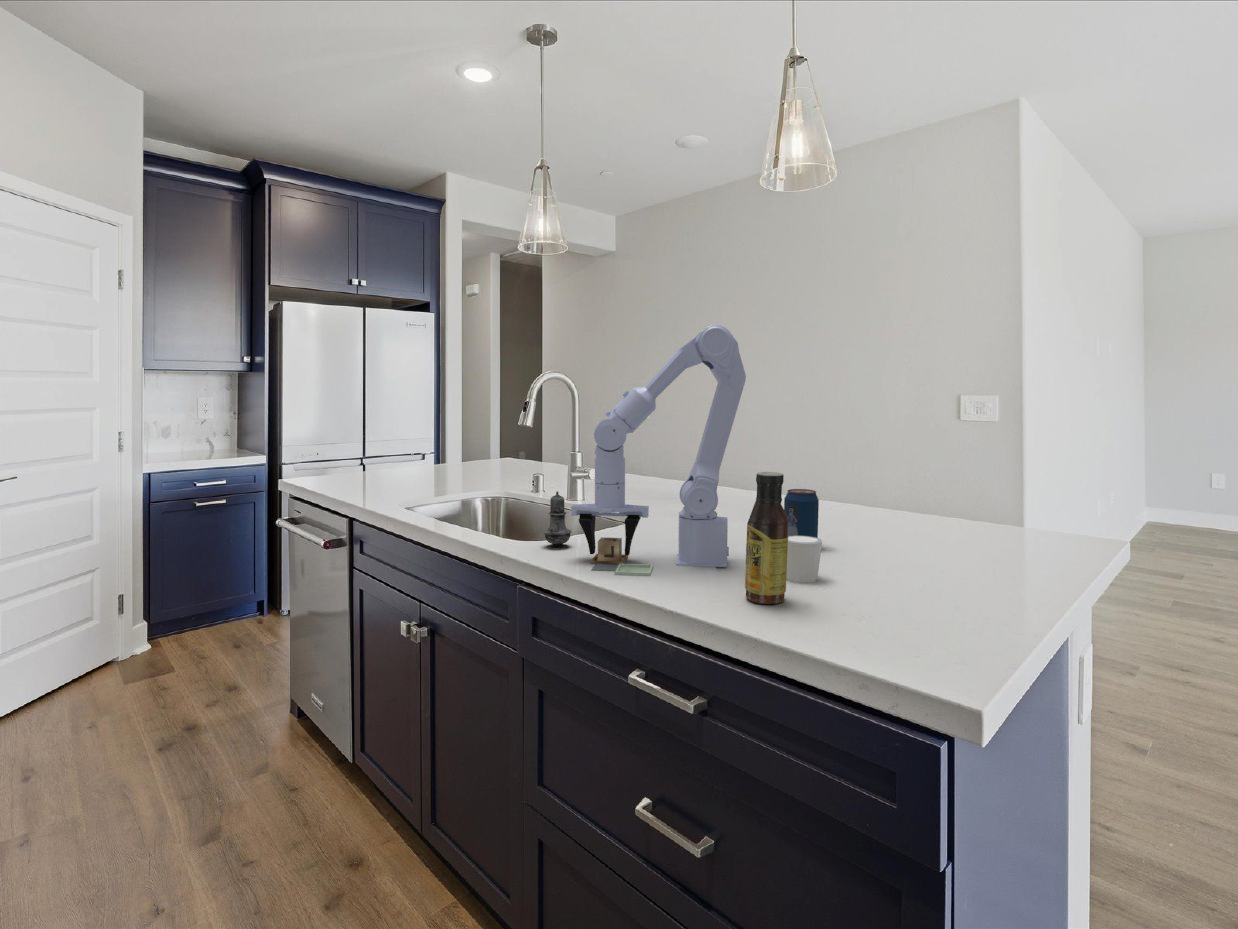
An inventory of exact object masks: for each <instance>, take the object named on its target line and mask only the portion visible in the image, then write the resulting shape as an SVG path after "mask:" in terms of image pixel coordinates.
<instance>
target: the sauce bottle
mask: <svg viewBox="0 0 1238 929" xmlns="http://www.w3.org/2000/svg"><path fill="white" fill-rule="evenodd" d="M784 481H785V480H784V474H783V473H782V472H777V471H776V472H775V471H760V472H757V473H756V478H755V482H756V498H755V501H754V504H753V507H752V510H751V512H750V515H749V519H748V520H747V524H746V544H745V545H746V547H745V553H746V554H745V574H744V576H745V577H744V580H745V583H744V587H745V597H746V599H747V600H748V601H751V602H754V603H755V604H760V605H761V604H762V605H763V604H764V605H773V604H776V605H778V604H781V603H783V602H784V600H785V596H786V595H785V593H786V592H787V591H786V590H787V580H786V576H787V554H788V517H787V514H786V512H785V510H784V506H783V505H782V501H783V498H782V495H783V493H782V492H783V487H782V486H783V484H784V483H785V482H784Z"/></svg>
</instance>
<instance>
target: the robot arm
mask: <svg viewBox="0 0 1238 929" xmlns="http://www.w3.org/2000/svg"><path fill="white" fill-rule="evenodd" d="M702 363H703V365H706V367H708V368H709V370H710V372H711V374H712V376H714V377H713V378H714V379H715V380H716V382H717V385H716V388H715V391H714V394H713V398H712V402H711V405H710V408H709V412H708V415H707V419H706V422H705V426H704V430H703V433H702V437H701V440H700V443H699V446H698V451H697V452H696V453H697V454H696V457H695V460H694V463H693V465H692V467H691V470H690V473H689V476H688V478H687V479H686V480H685V482H684V483H683V484H682V485H681V487H680V490H679V499H680V501H681V503H682V505H683V508H682V510H680V511H679V512H678V551H677V552H678V553H677V554H676V559H675V563H674V564H675V566H683V567H684V566H685V567H710V568H711V567H713V568H714V567H715V568H727V567H728V557H729V555H730V546H728V534H729V533H728V523H729V522H728V517H726V516H718V512H717V511H716V509H717V507H718V504H719V496H718V491H717V490H718V485H719V482H720V468H721V466H722V462H723V459H724V455H725V452H726V448H727V444H728V442H729V438H730V435H731V431H732V428H733V425H734V422H735V421H734V420H735V419H736V418H735V417H736V414H737V410H738V407H739V404H740V400H741V397H742V394H743V391H744V387H745V383H746V378H747V375H746V370H745V368H744V364H743V361H742V357H741V354H740V348H739V342H738V341H737V339H736V338H735V337H734V335H733V334H732V333H731V331H730V330H729V329H728V328H727V327H725V326H723V325H721V324H712V325H709V326H706V327H705V328H704V329H703V330H702V331H700V332H699V333H698V334H696V336H694V337H693V338H692V339H690V340H689V341H688V342H686V343H685V344H684V345H683V346H681V347H680V348H679V349H677V351H675V353H674V354H673V355H672V356H670V357H669V359H668V360H667V361H666V362H665V364H664V365H663V366H662V367H661V368H660V369H659V370H658V371H657V372H656V373H655V375H653V377H652V378H651V379H650V380H649V381H648V382H647V383H646V384H645V386H643V387H642V386H641V387H638V386H636V387H635V386H634V387H632V389H630V390H628V389H627V390H626V391H625V392H623V393H622V396H623V398H622V399H621V400H620V401H619V402H618V403H617V404H616V405H615V406H614V408H613V409H612V410H611V411H610V410H607V411H606V412H605V416H606V417H607V418H604V419H602V420H600V421H599V422H598V424H597V426H596V427H595V429H594V433H593V435H594V436H593V438H594V441H595V443H596V446H595V449H594V450H595V452H594V454H595V458H594V503H584V504H583V503H580V504H579V503H573V504H572V505H571V508H570V511H571V516H573V517H578V516H579V517H578V518H579V519H578V523H579V525H580V527H581V529H582V531H583V533H584V536H585V538H586V541H587V542H586V543H587V544H588V548H589V549H588V550H589V555H595V553H596V537H595V536H596V535H595V534H596V533H595V532H596V518H597V517H599V516H600V517H601V516H602V517H626V518H625V519H624V530H625V532H624V533H625V540H624V542H625V543H624V555H628V556H630V553H631V546H632V542H633V538H634V535H635V532H636V529H637V527H638V525H639V522H640V520H641V519H642V518H645V519H646V518H647V519H648V518H649V516H650V515H649V512H650V510H649V505H637V504H626V458H625V456H624V453H625V452H624V445H625V443H626V440H627V434H633V433H634V432H635V431H636V430H637V429H638V428H639V427H640V426H641V425H642V424H643V423H644V422H645V421H646V420H647V419H648V418H649V417H650V415H651V414H652V413H653V412H655V411H656V407H657V406H656V400H657V399H656V398H658V397H659V396H660V395H661V394H662V393H663V392H664V391H665V390H666V389H667V388H668V387H669V386H670V385H671V384H672V383H673V382H674V381H675V380H676V379H677V378H678V377H679V376H680V375H681V374H682V373H683V372H684V371H685V370H686V369H689V368H692V367H695V366H698V365H699V364H702Z"/></svg>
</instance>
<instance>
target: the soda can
mask: <svg viewBox="0 0 1238 929" xmlns="http://www.w3.org/2000/svg"><path fill="white" fill-rule="evenodd" d="M783 500H784V503H783V505H784V506H783V509H784V510H785V512H786V514H787V517H788V536H810V537H816V538H819V537H818V536H819V509H820V508H819V506H820V504H819V503H820V502H819V497H818V496H817V491H816V490H813V489H809V488H808V489H806V488H792V489H788V490H787V493H786V495H785V497H784V499H783Z"/></svg>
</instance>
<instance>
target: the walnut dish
mask: <svg viewBox="0 0 1238 929" xmlns="http://www.w3.org/2000/svg"><path fill="white" fill-rule="evenodd" d="M628 558H629V555H625V554H622V559H621V560H620V562H615V561H598V553H596V554H594V557H593V558H592V559H591V560H590V565H595V564H614V565H619V563H623V564H626V562H627V560H628Z"/></svg>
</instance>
